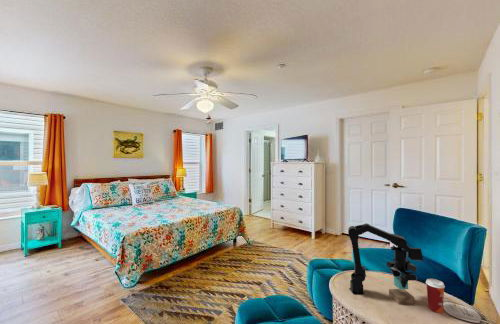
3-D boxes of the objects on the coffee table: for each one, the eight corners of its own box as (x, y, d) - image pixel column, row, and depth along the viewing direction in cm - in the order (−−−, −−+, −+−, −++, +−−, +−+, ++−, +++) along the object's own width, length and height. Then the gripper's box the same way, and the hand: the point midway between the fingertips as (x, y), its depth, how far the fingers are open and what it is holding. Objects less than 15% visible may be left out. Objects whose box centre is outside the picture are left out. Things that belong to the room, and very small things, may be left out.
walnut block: (398, 304, 132) (398, 297, 132) (389, 295, 141) (388, 289, 141) (414, 304, 132) (414, 297, 132) (404, 295, 141) (403, 288, 141)
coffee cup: (446, 316, 121) (446, 287, 121) (426, 311, 125) (426, 283, 125) (444, 307, 128) (443, 280, 128) (425, 303, 132) (424, 276, 132)
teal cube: (399, 289, 134) (399, 280, 134) (394, 284, 139) (393, 276, 139) (408, 289, 134) (408, 280, 134) (402, 284, 139) (402, 276, 139)
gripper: (426, 264, 128) (426, 293, 127) (403, 252, 146) (404, 277, 146) (405, 265, 127) (406, 294, 127) (385, 252, 146) (386, 277, 146)
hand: (400, 285), depth 137 cm, fingers closed on teal cube, 5 cm apart
